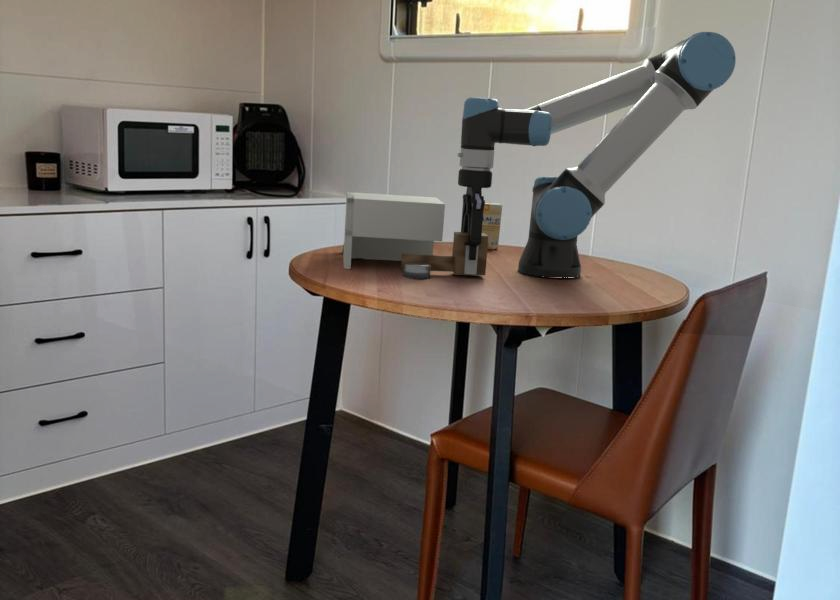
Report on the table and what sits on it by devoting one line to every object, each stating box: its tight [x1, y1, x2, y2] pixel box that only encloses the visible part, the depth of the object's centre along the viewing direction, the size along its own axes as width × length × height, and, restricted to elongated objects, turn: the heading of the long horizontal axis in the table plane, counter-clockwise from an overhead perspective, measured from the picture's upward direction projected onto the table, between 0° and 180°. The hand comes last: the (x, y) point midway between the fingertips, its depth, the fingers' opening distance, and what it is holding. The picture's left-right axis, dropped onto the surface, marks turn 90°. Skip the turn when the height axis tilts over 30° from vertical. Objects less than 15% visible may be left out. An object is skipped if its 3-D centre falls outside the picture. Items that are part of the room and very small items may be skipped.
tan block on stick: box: [400, 231, 488, 276], centre depth 181 cm, size 19×5×9 cm, turn 97°
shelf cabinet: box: [342, 191, 446, 270], centre depth 188 cm, size 22×16×16 cm
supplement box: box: [482, 202, 503, 251], centre depth 227 cm, size 8×5×13 cm, turn 102°
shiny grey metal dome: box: [402, 262, 431, 281], centre depth 177 cm, size 6×6×3 cm
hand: (467, 271), depth 182 cm, fingers closed on tan block on stick, 5 cm apart
